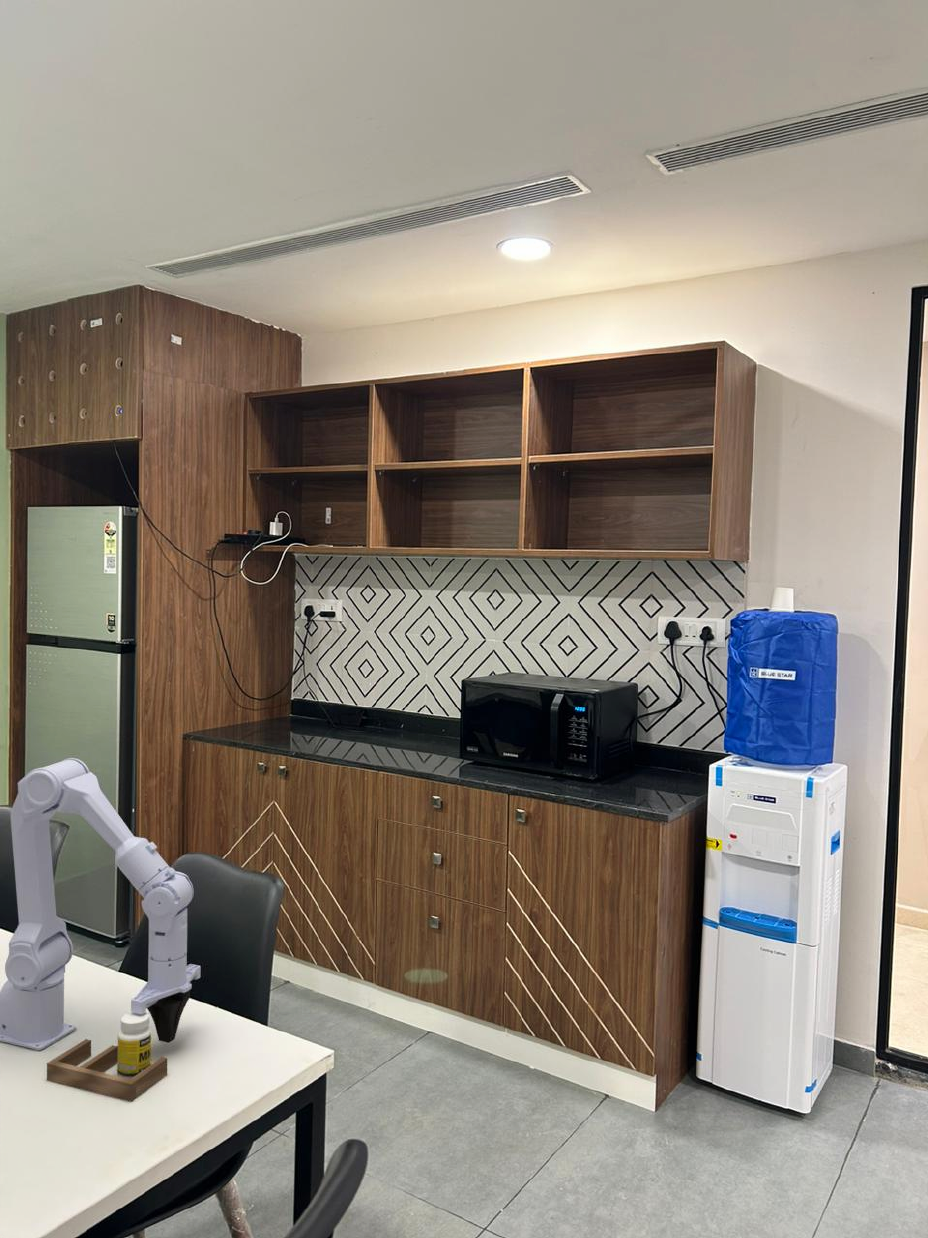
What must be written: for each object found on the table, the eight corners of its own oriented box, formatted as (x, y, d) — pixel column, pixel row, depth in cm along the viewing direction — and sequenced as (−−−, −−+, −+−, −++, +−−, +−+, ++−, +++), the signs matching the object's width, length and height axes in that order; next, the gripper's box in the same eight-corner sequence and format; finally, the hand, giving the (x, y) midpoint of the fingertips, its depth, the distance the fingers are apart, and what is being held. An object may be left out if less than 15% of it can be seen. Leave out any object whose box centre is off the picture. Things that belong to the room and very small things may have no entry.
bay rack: (46, 1080, 139) (46, 1063, 139) (85, 1055, 147) (85, 1039, 147) (131, 1102, 134) (131, 1084, 134) (167, 1074, 142) (167, 1058, 141)
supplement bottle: (142, 1082, 139) (143, 1026, 139) (111, 1080, 140) (112, 1023, 139) (156, 1066, 144) (156, 1011, 144) (125, 1063, 144) (126, 1009, 144)
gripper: (158, 976, 140) (157, 1066, 141) (216, 942, 154) (215, 1024, 155) (119, 968, 143) (118, 1057, 143) (180, 935, 156) (179, 1016, 157)
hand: (166, 1040), depth 149 cm, fingers closed
